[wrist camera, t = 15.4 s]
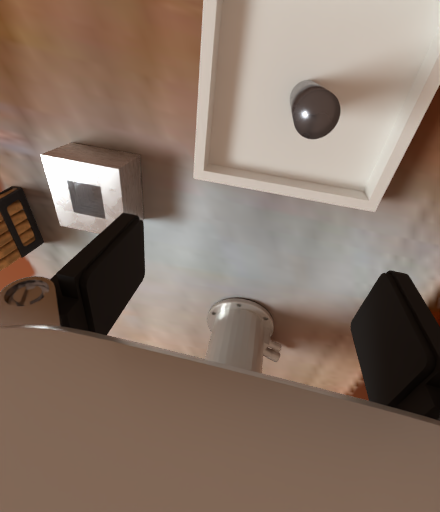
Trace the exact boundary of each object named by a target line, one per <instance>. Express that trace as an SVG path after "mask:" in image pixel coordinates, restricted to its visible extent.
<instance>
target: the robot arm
mask: <svg viewBox="0 0 440 512" xmlns="http://www.w3.org/2000/svg"><path fill="white" fill-rule="evenodd" d="M144 275H145V259H144V226H143V221H142V220H140V219H139V216H138V215H134V214H129V213H122V214H121V215H120V216H119V217H117V218H116V219H115V220H114V221H113V222H112V223H111V224H110V225H109V226H108V227H107V228H105V229H104V230H103V231H102V232H101V233H100V234H99V235H98V236H97V237H96V238H95V239H93V240H92V241H91V242H90V243H89V244H88V245H87V246H86V247H85V248H84V249H82V250H81V251H80V252H79V253H78V254H77V255H76V256H75V257H74V258H73V259H72V260H70V261H69V262H68V263H67V264H66V265H65V266H64V267H63V268H62V269H61V270H59V271H58V272H57V273H56V275H55V276H53V277H52V278H51V279H48V278H44V277H37V276H34V277H26V278H23V279H19V280H17V281H15V282H12V283H10V284H9V285H7V286H6V287H4V288H3V289H2V291H1V292H0V512H440V327H439V325H438V323H437V322H436V320H435V318H434V317H433V315H432V313H431V312H430V310H429V308H428V307H427V305H426V303H425V302H424V300H423V298H422V297H421V295H420V293H419V292H418V290H417V288H416V287H415V285H414V284H413V282H412V280H411V279H410V277H409V276H408V275H407V274H404V273H400V272H395V271H388V272H387V273H383V274H381V275H380V277H379V278H378V280H377V282H376V283H375V285H374V286H373V288H372V289H371V291H370V293H369V294H368V296H367V297H366V299H365V301H364V302H363V304H362V305H361V307H360V309H359V310H358V312H357V313H356V315H355V317H354V318H353V320H352V322H351V332H352V336H353V340H354V344H355V348H356V352H357V356H358V359H359V363H360V367H361V371H362V375H363V379H364V382H365V386H366V390H367V394H368V398H369V401H367V400H363V399H359V398H355V397H352V396H348V395H344V394H340V393H336V392H332V391H328V390H324V389H321V388H317V387H313V386H309V385H305V384H301V383H297V382H293V381H289V380H286V379H282V378H278V377H274V376H270V375H266V374H262V363H263V356H265V357H267V358H268V359H270V360H272V361H274V362H277V361H278V360H279V358H280V353H279V351H280V350H281V347H282V346H281V345H280V344H278V343H276V342H273V341H271V338H270V337H271V336H272V333H273V327H274V325H273V319H272V317H271V315H270V314H269V312H268V311H267V310H266V309H265V308H263V307H262V306H261V305H259V304H257V303H255V302H252V301H249V300H246V299H238V298H232V299H226V300H222V301H220V302H217V303H216V304H215V305H213V306H212V308H211V309H210V311H209V313H208V317H207V324H208V327H209V329H210V331H211V332H212V333H211V337H210V341H209V345H208V349H207V352H206V356H205V359H202V358H198V357H194V356H190V355H186V354H182V353H178V352H174V351H170V350H166V349H162V348H158V347H154V346H150V345H146V344H142V343H137V342H133V341H129V340H125V339H120V338H116V337H112V336H107V334H108V332H109V331H110V329H111V328H112V326H113V325H114V323H115V322H116V320H117V319H118V317H119V316H120V314H121V313H122V311H123V310H124V308H125V306H126V305H127V303H128V302H129V300H130V299H131V297H132V296H133V294H134V293H135V291H136V290H137V288H138V287H139V285H140V284H141V282H142V280H143V278H144ZM268 347H270V348H272V349H270V348H268Z"/></svg>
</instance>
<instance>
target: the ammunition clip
mask: <svg viewBox="0 0 440 512" xmlns="http://www.w3.org/2000/svg"><path fill="white" fill-rule="evenodd" d="M43 243H44V241H43V239H42V236H41V234H40V231H39V229H38V226H37V224H36V221H35V219H34V216H33V214H32V211H31V209H30V206H29V204H28V202H27V199H26V197H25V194H24V192H23V189H22V188H21V187H13V186H11V187H10V188H8V189H6V190H4V191H2V192H0V271H1V270H2V269H4V268H6V267H8V266H9V265H11V264H12V263H13V262H15V261H16V260H17V259H19V258H20V257H24V256H26V255H27V254H28V253H30V252H31V251H33V250H34V249H36V248H37V247H38V246H40V245H41V244H43Z"/></svg>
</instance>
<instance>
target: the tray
mask: <svg viewBox="0 0 440 512" xmlns="http://www.w3.org/2000/svg"><path fill="white" fill-rule="evenodd" d="M304 80H312V81H314V82H316V83H317V84H319V85H321V86H322V87H324V88H325V89H327V90H328V91H330V92H332V93H333V94H334V95H335V96H336V97H337V99H338V101H339V103H340V109H341V112H340V118H339V120H338V123H337V125H336V126H335V128H334V129H333V130H332V131H331V132H330V133H329V134H327V135H326V136H324V137H322V138H319V139H307V138H304V137H303V136H301V135H300V134H299V133H298V132H297V130H296V129H295V126H294V122H293V117H292V112H291V106H290V94H291V91H292V89H293V88H294V87H295V86H296V85H297V84H298V83H299V82H301V81H304ZM439 85H440V0H203V18H202V35H201V53H200V70H199V87H198V105H197V122H196V140H195V157H194V175H193V179H199V180H204V181H210V182H215V183H221V184H226V185H231V186H237V187H242V188H248V189H253V190H258V191H264V192H269V193H275V194H280V195H286V196H291V197H296V198H302V199H307V200H313V201H318V202H324V203H329V204H334V205H340V206H345V207H351V208H356V209H361V210H367V211H372V212H375V211H376V209H377V207H378V205H379V203H380V201H381V199H382V197H383V195H384V193H385V191H386V189H387V187H388V185H389V183H390V181H391V179H392V177H393V175H394V173H395V171H396V169H397V168H398V166H399V164H400V162H401V160H402V158H403V156H404V154H405V152H406V150H407V148H408V146H409V144H410V142H411V140H412V138H413V136H414V134H415V132H416V130H417V128H418V126H419V124H420V122H421V120H422V118H423V116H424V114H425V112H426V111H427V109H428V107H429V105H430V103H431V101H432V99H433V97H434V95H435V93H436V91H437V89H438V87H439Z"/></svg>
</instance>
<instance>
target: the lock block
mask: <svg viewBox="0 0 440 512" xmlns="http://www.w3.org/2000/svg"><path fill="white" fill-rule="evenodd" d="M41 158H42V162H43V165H44V169H45V173H46V176H47V180H48V183H49V187H50V191H51V194H52V198H53V202H54V205H55V209H56V213H57V216H58V220H59V223H60V226H64V227H69V228H74V229H79V230H84V231H89V232H93V233H98V234H100V233H101V232H102V231H103V230H104V229H105V228H107V227H108V226H109V225H110V224H111V223H112V222H113V221H114V220H115V219H116V218H117V217H119V216H120V215H121V214H122V213H129V214H134V215H138V216H139V219H140V220H142V221H143V220H144V213H143V196H142V180H141V163H140V155H138V154H133V153H127V152H121V151H116V150H110V149H105V148H99V147H94V146H88V145H83V144H77V143H72V142H71V143H69V144H66V145H64V146H61V147H59V148H56V149H54V150H51V151H48V152H46V153H43V154H41Z"/></svg>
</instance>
